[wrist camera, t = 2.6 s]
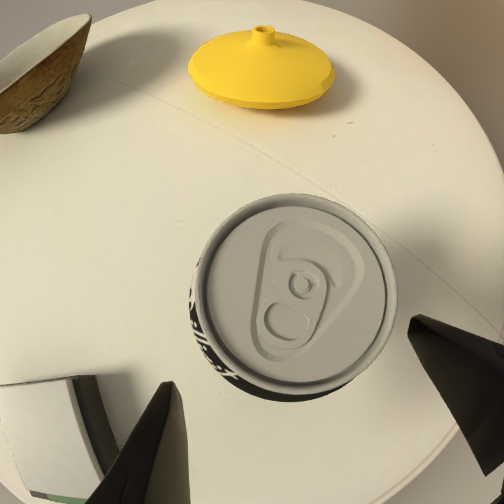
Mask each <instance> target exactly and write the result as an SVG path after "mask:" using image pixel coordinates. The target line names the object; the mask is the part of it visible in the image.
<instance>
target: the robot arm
mask: <svg viewBox="0 0 504 504" xmlns="http://www.w3.org/2000/svg"><path fill="white" fill-rule="evenodd" d="M407 335H408V339H409V341H410V343H411V345H412V346H413V348H414V350H415V352H416V354H417V356H418V358H419V360H420V362H421V364H422V366H423V368H424V369H425V371H426V373H427V374H428V376H429V377H430V379H431V380H432V382H433V384H434V385H435V387H436V388H437V390H438V392H439V393H440V395H441V397H442V398H443V400H444V402H445V403H446V405H447V407H448V408H449V410H450V412H451V413H452V415H453V417H454V419H455V420H456V422H457V424H458V426H459V427H460V429H461V431H462V433H463V434H464V436H465V438H466V440H467V442H468V444H469V446H470V448H471V450H472V452H473V454H474V455H475V458H476V459H477V461H478V463H479V465H480V468H481V470H482V472H483V474H484V475H485V476H487V475H488V474H490V473H491V472H492V471H493V470H495V469H496V468H497V467H498V466H500V465H501V464H502V463H503V462H504V345H501V344H499V343H496V342H493V341H492V342H491V340H488V339H485V338H483V337H480V336H477V335H475V334H472V333H469V332H467V331H464V330H461V329H459V328H456V327H453V326H451V325H448V324H445V323H443V322H440V321H437V320H435V319H432V318H429V317H427V316H424V315H421V314H418V315H416V316H414V317H412V318H411V320H410V324H409V328H408V332H407ZM501 493H502V494H501V495H500V496H499V497H498V498H496V499H495V500H494V501H493V502H492V503H491V504H504V480H503V484H502V490H501ZM84 504H191V503H190V488H189V469H188V441H187V431H186V425H185V418H184V410H183V403H182V397H181V395H180V393H179V391H178V389H177V387H176V385H175V383H174V382H173V381H168V382H162V383H161V384H160V386H159V387H158V389H157V391H156V392H155V394H154V396H153V397H152V399H151V401H150V402H149V404H148V406H147V407H146V409H145V411H144V412H143V414H142V416H141V417H140V419H139V421H138V423H137V424H136V426H135V428H134V429H133V431H132V433H131V434H130V436H129V438H128V439H127V441H126V443H125V444H124V446H123V448H122V450H121V451H120V453H119V455H118V457H117V458H116V460H115V461H114V463H113V465H112V466H111V468H110V469H109V471H108V473H107V474H106V476H105V477H104V478H103V480H102V481H101V483H100V484H99V485H98V487H97V488H96V489H95V490H94V492H93V493H92V494H91V496H90V497H89V498H88V499H87V501H86V502H85V503H84Z"/></svg>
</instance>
